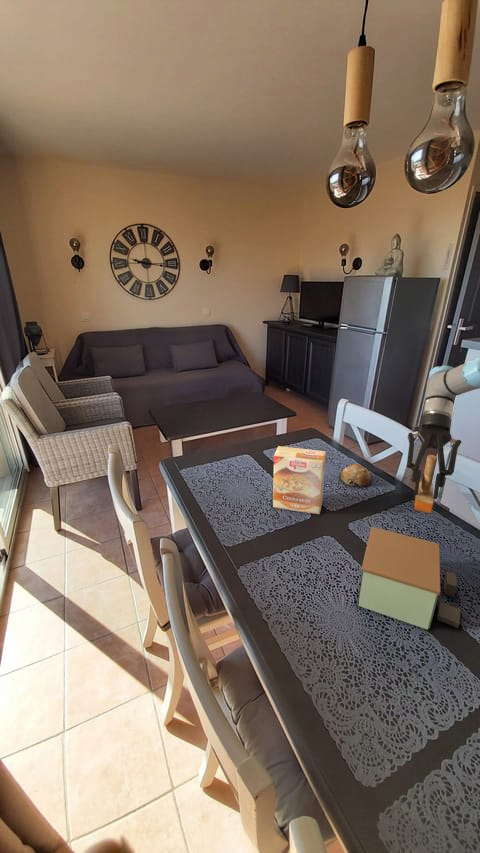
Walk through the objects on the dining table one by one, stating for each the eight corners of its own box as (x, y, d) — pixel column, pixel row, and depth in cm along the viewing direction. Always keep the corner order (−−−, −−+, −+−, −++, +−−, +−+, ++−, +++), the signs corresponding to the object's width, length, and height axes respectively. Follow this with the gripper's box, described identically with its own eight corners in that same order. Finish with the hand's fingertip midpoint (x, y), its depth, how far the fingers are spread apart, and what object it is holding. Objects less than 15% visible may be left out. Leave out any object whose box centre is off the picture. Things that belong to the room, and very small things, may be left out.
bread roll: (339, 492, 129) (341, 480, 123) (340, 468, 136) (342, 456, 130) (369, 495, 127) (372, 483, 121) (368, 471, 133) (371, 458, 127)
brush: (415, 490, 106) (424, 447, 101) (430, 493, 105) (440, 450, 99) (414, 509, 98) (424, 464, 92) (430, 513, 97) (441, 467, 91)
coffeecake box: (272, 509, 115) (273, 455, 108) (277, 496, 122) (277, 445, 114) (320, 516, 111) (324, 461, 103) (322, 503, 117) (326, 450, 110)
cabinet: (433, 583, 87) (443, 544, 82) (433, 635, 75) (445, 593, 70) (365, 563, 93) (371, 526, 88) (356, 608, 81) (361, 568, 76)
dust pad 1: (443, 596, 83) (453, 599, 82) (447, 583, 82) (457, 586, 81) (442, 583, 87) (452, 586, 86) (446, 571, 85) (455, 573, 84)
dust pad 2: (439, 601, 80) (438, 608, 81) (437, 615, 77) (436, 621, 77) (460, 609, 78) (458, 616, 79) (459, 623, 75) (457, 630, 75)
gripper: (468, 426, 103) (459, 506, 96) (403, 418, 110) (391, 491, 103) (474, 416, 97) (465, 500, 90) (405, 407, 104) (391, 485, 97)
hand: (425, 495), depth 97 cm, fingers closed on brush, 4 cm apart
